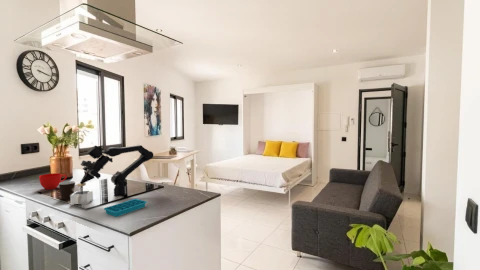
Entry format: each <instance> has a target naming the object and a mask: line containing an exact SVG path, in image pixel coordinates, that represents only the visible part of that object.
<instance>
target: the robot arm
mask: <svg viewBox="0 0 480 270" xmlns="http://www.w3.org/2000/svg"><path fill="white" fill-rule="evenodd" d="M134 152H138V153H139V157H138V158H137V159H136V160H135V161H133V162H132V163H130V164H129V165H128V166H127V167H126V168H124V169H123V170H122V171H119V170H117V171H116V172H115V173H114V174H112V176H111V177H110V181H111V183H113V185H114V188H113V196H114V197H116V196H117V197H121V196H125V195H126V194H127V187H126V186H127V184H128V183H127V182H126V179H127V177H128V176H129V175H130V174H131V173H132V172H134V171H136V169H138V168H139V167H140V166H141V165H143V164H144V163H145V162H148V161H150V160H152V159H153V158H154V152H153V151H150V150H149V149H146V148H145V147H144V146H143V145H140V144H137V145H132V146H130V145H129V146H124V147H107V148H106V149H103V150H102V149H101V148H99V146H98V145H94V146H93V147H91V148H89V149H88V150H87V152H86V154H87V155H89V157H91V158H93V160H96V161H91V160H82V161H81V163H80V165H81V166H82V167H83V168H82V170H83V171H84V174H83V176H82V178H81V180H80V182H79V183H81V184H83V183H86V182H88V181H89V182H90V181H91V180H93V179H95V178H96V179H98V180H99V179H100V178H101V176H102V175H101V174H100V171H101V170H104V167H105V166H106V165H107V164H108V163H109V162H110V163H113V158H115V157H116V156H119V155H121V154H126V153H127V154H128V153H134Z"/></svg>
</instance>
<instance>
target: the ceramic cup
mask: <svg viewBox="0 0 480 270" xmlns="http://www.w3.org/2000/svg"><path fill="white" fill-rule="evenodd" d="M63 176H64V178H63V179H62V177H63ZM38 177H39V178H38V179H39V184H40V186H41V187H42V188H43V189H45V190H54V189H55V190H56V189H57V188H58V187H59V183H62V182H65V180H67V178H68V176H67V174H62V173H59V172H57V173H55V172H53V173H47V174H41V175H39V176H38Z"/></svg>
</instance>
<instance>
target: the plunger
mask: <svg viewBox="0 0 480 270" xmlns="http://www.w3.org/2000/svg"><path fill="white" fill-rule="evenodd" d="M76 185H77V187H80V191H81V194H83V191H84V186H87V183H86V182H85V183H83V184H81V183H80V182H79V183H77V184H76Z"/></svg>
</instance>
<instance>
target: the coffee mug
mask: <svg viewBox="0 0 480 270" xmlns="http://www.w3.org/2000/svg"><path fill="white" fill-rule="evenodd" d="M58 187H59V192H60V198H61V200H63V199H65V200H70V195H71V194H73V193H75V187H76V181H74V180H73V181H71V180H69V181H62V182H60V183H59V185H58Z"/></svg>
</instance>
